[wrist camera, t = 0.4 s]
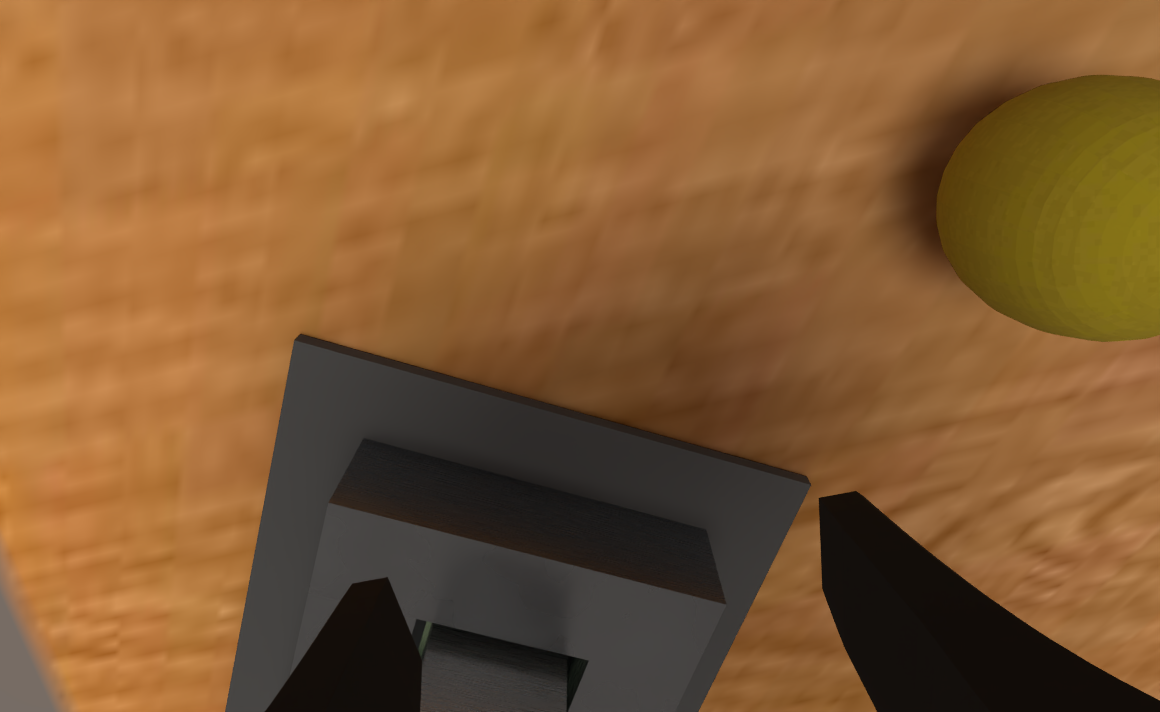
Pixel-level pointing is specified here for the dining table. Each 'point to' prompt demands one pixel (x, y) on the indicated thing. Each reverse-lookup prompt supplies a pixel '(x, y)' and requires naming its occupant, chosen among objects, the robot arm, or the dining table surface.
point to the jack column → (488, 674)
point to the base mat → (496, 444)
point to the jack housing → (524, 572)
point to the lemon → (1062, 208)
